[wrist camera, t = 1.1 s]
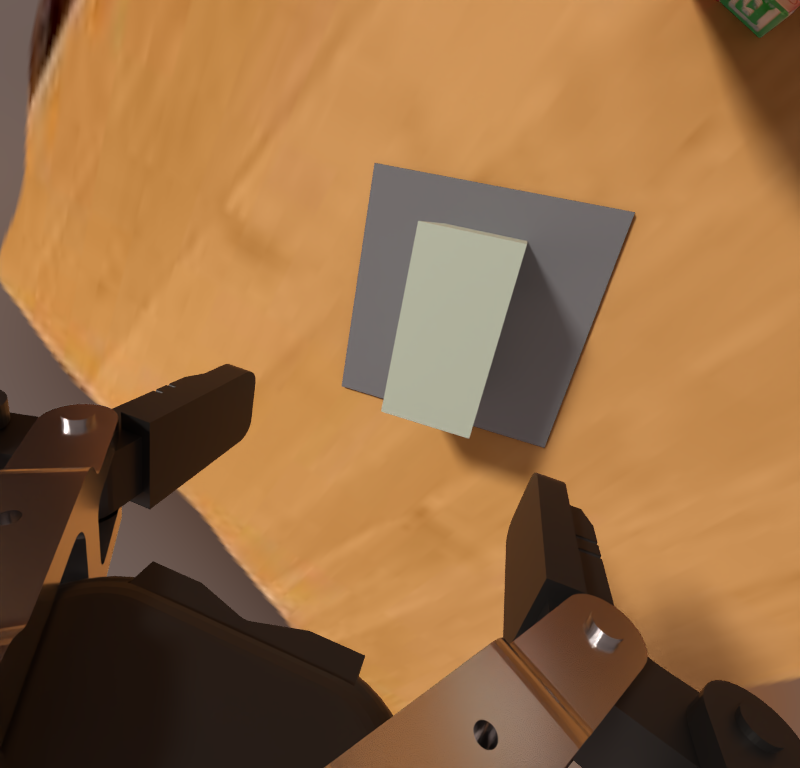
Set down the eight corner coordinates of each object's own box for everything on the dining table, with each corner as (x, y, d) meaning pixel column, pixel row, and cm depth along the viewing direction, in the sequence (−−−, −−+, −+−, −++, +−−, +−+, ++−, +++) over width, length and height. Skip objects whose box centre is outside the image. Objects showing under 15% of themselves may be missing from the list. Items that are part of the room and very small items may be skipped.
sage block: (527, 241, 29) (526, 244, 22) (481, 394, 34) (469, 438, 26) (444, 223, 30) (418, 220, 23) (411, 374, 35) (381, 411, 27)
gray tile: (633, 212, 27) (635, 212, 27) (544, 446, 34) (544, 448, 34) (376, 163, 30) (374, 162, 30) (343, 384, 37) (341, 386, 37)
